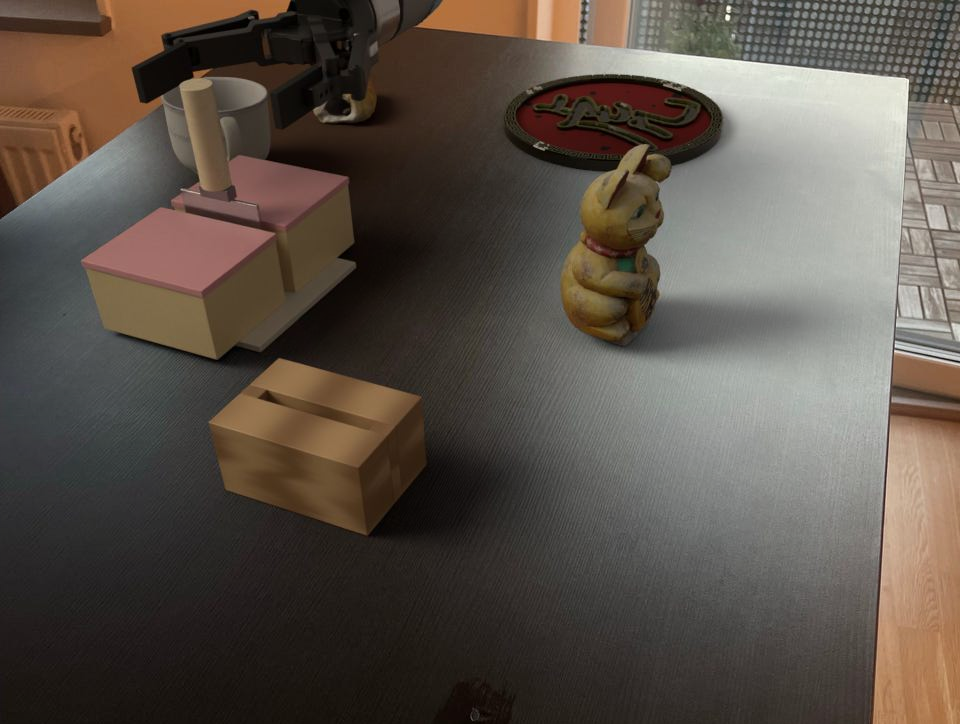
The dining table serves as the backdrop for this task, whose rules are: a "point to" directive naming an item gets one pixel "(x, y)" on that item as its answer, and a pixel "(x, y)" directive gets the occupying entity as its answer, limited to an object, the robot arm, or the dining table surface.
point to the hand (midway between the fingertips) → (205, 98)
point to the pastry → (348, 108)
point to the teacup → (225, 120)
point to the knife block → (321, 444)
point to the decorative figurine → (617, 250)
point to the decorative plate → (611, 120)
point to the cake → (228, 263)
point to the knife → (212, 161)
